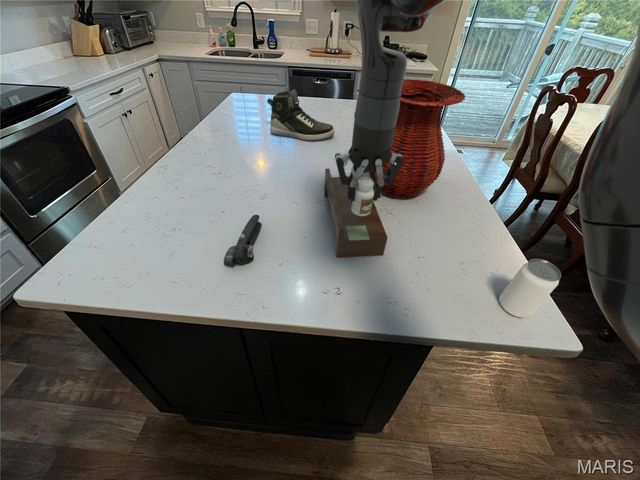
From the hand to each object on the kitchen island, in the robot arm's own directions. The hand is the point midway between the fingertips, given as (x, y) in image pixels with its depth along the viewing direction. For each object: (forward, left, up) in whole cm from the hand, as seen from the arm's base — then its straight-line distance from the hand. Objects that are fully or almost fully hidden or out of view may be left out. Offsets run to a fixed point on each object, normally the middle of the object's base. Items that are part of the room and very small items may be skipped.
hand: (363, 198), depth 64 cm
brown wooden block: (+12, -1, -16) cm, 20 cm away
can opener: (+4, +27, -17) cm, 32 cm away
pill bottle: (0, 0, -4) cm, 4 cm away
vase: (+29, -20, -17) cm, 39 cm away
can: (-19, -32, -17) cm, 41 cm away
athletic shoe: (+71, +10, -17) cm, 74 cm away
